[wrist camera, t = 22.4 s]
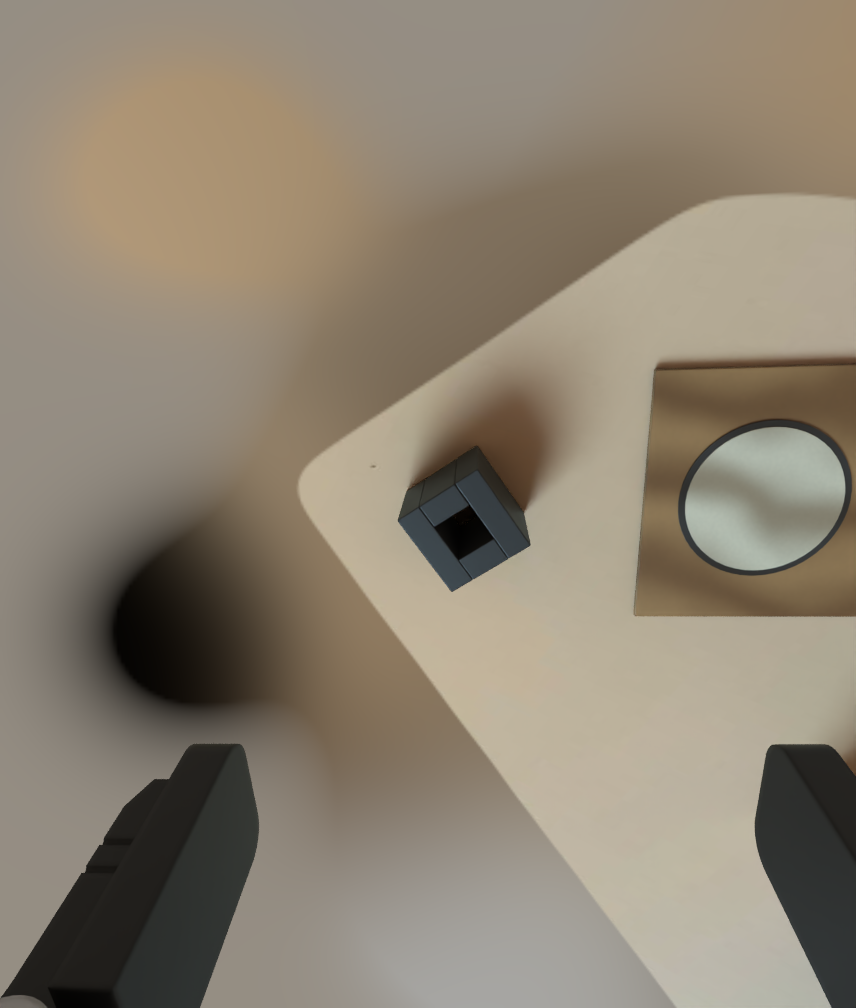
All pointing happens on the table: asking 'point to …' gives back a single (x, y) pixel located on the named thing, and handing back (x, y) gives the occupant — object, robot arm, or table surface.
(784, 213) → the table surface
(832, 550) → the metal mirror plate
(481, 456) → the holder
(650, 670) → the table surface
